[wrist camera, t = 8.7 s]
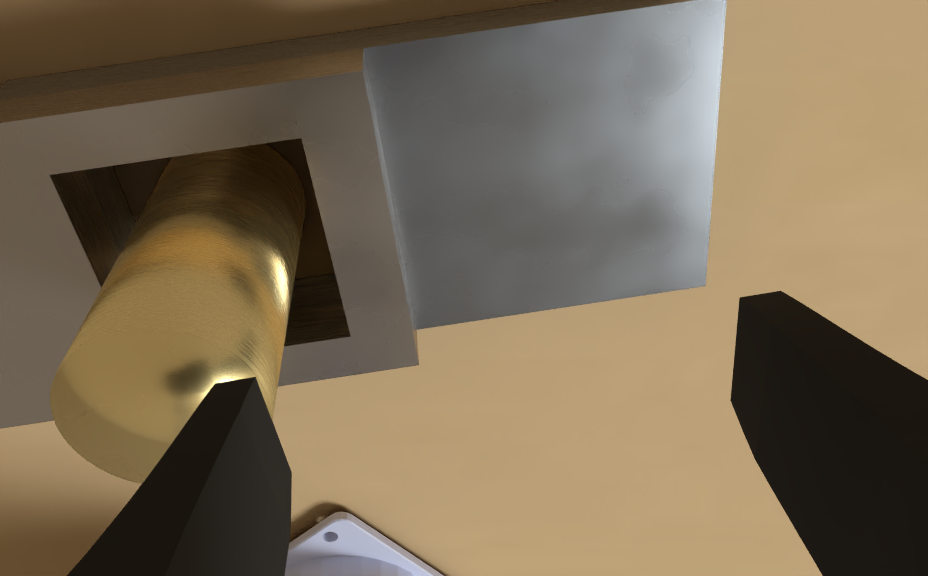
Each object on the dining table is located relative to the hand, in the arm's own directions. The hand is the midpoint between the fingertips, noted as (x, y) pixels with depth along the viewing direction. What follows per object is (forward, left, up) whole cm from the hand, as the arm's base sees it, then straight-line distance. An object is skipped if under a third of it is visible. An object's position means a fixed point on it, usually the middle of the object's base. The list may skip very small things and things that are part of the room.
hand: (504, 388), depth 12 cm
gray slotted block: (-5, +2, -10) cm, 11 cm away
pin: (-5, +2, -10) cm, 11 cm away
